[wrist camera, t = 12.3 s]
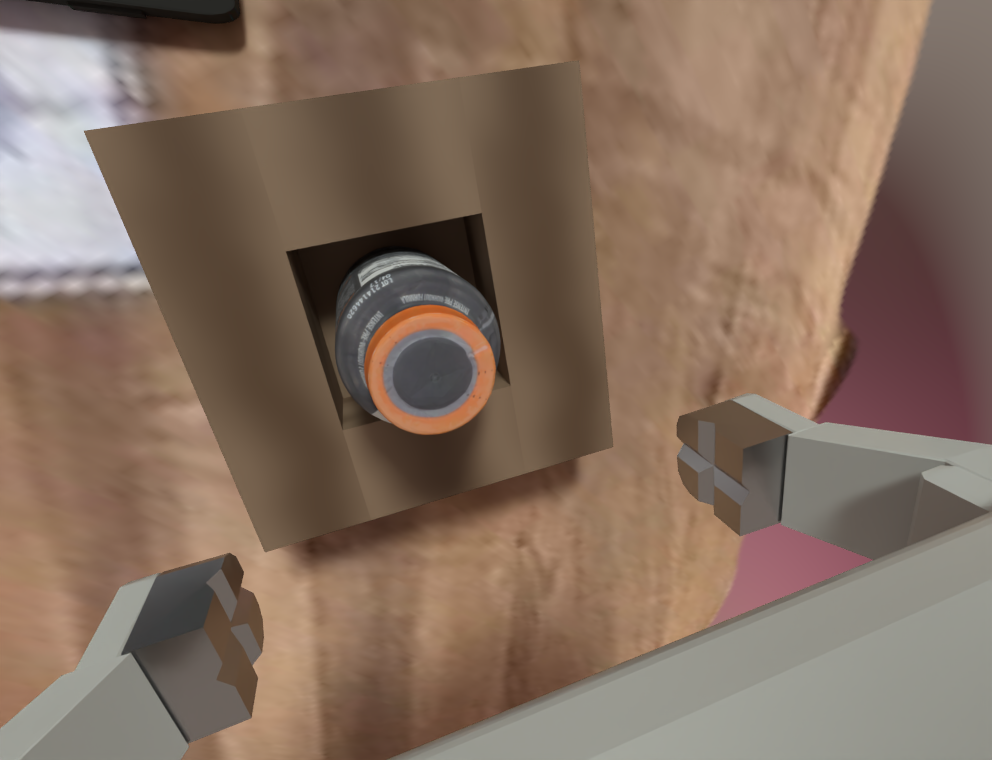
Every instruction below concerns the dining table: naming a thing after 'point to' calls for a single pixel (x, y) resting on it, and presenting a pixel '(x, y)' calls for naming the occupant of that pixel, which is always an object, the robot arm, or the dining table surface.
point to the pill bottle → (415, 341)
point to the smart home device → (160, 8)
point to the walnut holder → (338, 245)
